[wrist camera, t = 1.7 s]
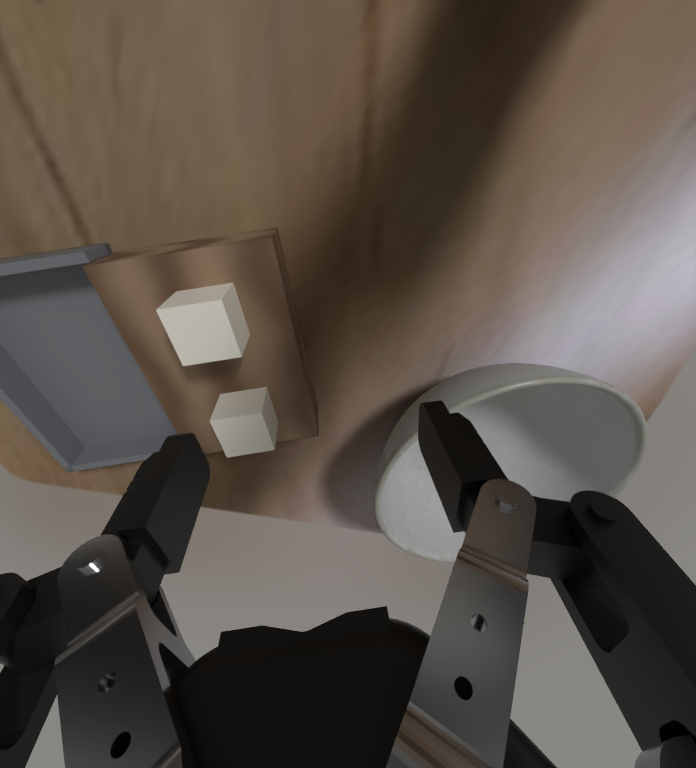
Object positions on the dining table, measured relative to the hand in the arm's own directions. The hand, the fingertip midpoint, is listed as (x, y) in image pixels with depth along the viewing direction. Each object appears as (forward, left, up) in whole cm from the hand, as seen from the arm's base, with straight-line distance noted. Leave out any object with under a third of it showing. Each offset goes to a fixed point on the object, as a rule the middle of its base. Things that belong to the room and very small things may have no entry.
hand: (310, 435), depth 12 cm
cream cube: (+8, +1, -17) cm, 19 cm away
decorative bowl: (-16, +21, -23) cm, 35 cm away
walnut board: (+9, +6, -22) cm, 25 cm away
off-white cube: (+8, +11, -17) cm, 22 cm away
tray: (+24, +6, -22) cm, 33 cm away
